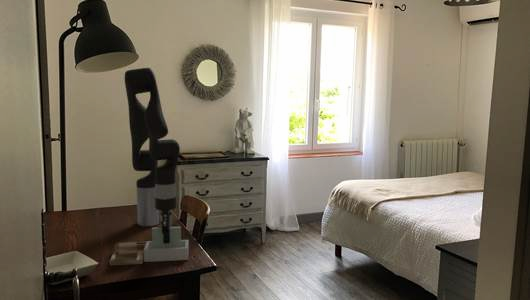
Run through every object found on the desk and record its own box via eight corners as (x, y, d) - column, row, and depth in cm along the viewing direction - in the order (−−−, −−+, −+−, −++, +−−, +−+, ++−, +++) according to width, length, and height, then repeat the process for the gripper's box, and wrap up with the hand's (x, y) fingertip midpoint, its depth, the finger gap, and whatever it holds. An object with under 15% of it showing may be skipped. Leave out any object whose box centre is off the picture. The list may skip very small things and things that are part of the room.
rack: (116, 251, 174) (116, 242, 174) (146, 250, 176) (146, 241, 176) (109, 265, 161) (109, 255, 161) (142, 263, 163) (142, 254, 162)
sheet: (153, 251, 170) (152, 227, 169) (181, 250, 172) (180, 226, 170) (152, 253, 169) (151, 228, 167) (180, 251, 170) (180, 227, 169)
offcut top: (119, 250, 164) (118, 243, 164) (136, 249, 166) (136, 242, 165) (118, 254, 161) (118, 247, 160) (136, 252, 162) (136, 245, 162)
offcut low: (117, 257, 165) (117, 250, 165) (137, 256, 166) (137, 249, 166) (115, 260, 161) (115, 253, 161) (136, 259, 162) (136, 253, 162)
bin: (147, 252, 174) (146, 241, 173) (188, 250, 176) (188, 239, 175) (144, 261, 165) (143, 250, 164) (188, 259, 167) (187, 248, 166)
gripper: (156, 191, 173) (157, 236, 176) (152, 200, 160) (154, 249, 162) (177, 190, 174) (178, 235, 177) (175, 199, 161) (176, 248, 163)
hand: (166, 242), depth 170 cm, fingers closed on sheet, 1 cm apart
